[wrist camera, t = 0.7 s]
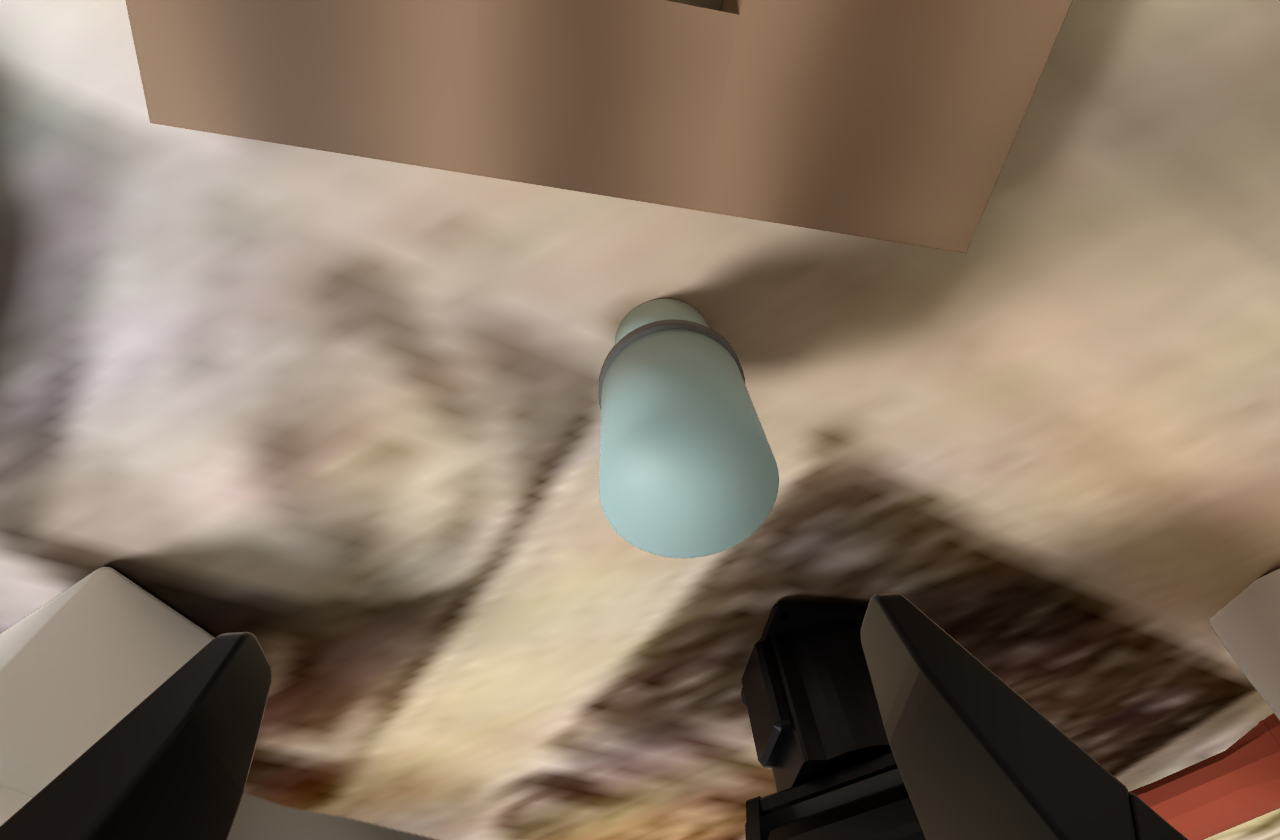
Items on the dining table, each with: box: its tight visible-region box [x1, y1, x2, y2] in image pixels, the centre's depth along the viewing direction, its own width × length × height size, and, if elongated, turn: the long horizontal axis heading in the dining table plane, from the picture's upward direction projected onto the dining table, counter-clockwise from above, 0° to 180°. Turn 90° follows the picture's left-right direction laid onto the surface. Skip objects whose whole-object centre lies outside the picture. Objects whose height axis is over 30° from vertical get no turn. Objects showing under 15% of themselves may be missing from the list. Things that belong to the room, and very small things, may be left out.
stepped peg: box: [599, 299, 779, 558], centre depth 18 cm, size 4×4×8 cm
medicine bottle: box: [0, 567, 215, 826], centre depth 22 cm, size 7×7×12 cm
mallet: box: [1128, 569, 1280, 840], centre depth 32 cm, size 11×4×30 cm
